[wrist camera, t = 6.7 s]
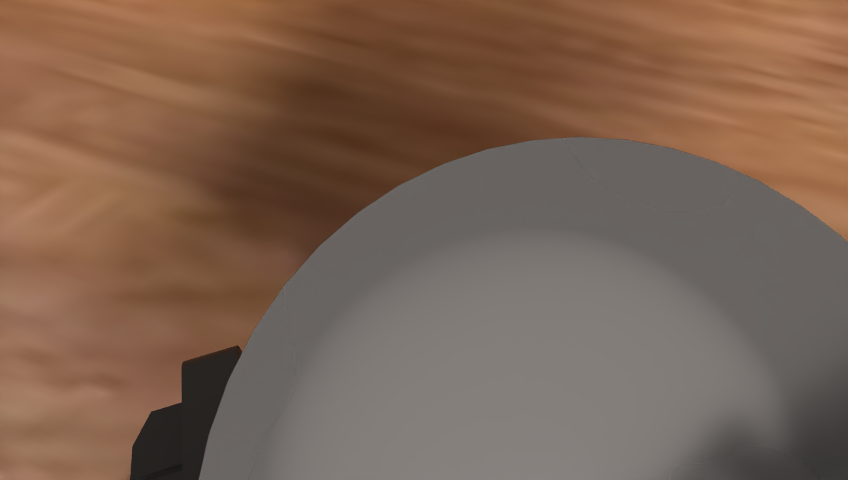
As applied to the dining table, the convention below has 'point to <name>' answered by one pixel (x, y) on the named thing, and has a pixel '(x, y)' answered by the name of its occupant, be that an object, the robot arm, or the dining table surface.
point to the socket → (553, 330)
